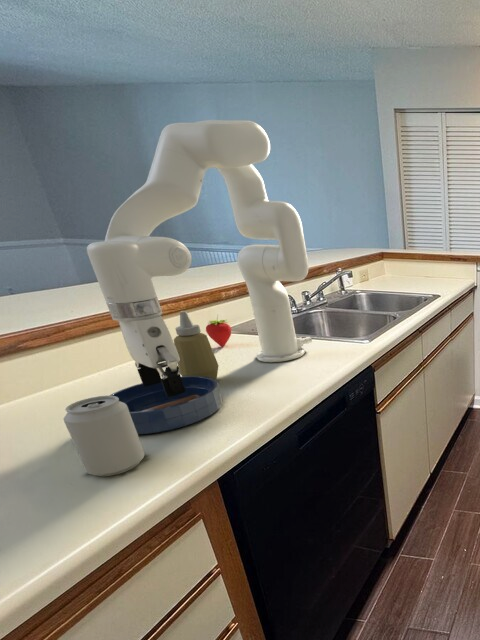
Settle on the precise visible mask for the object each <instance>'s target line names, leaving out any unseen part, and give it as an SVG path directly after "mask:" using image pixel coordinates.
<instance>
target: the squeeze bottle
mask: <svg viewBox="0 0 480 640" xmlns="http://www.w3.org/2000/svg"><path fill="white" fill-rule="evenodd" d="M174 329H175V332H176V335H177V336H175V337H174V338H173V342H174V345H175V347H176V350H177V352H178V355H179V358H180V361H179V362H178V363H177V366H178V367H179V372H180V376H181V377H182V376H202V377H209V378H212V379H214V380H215V381H216V382H217V380H218V374H219V373H218V372H219V366H220V365H219V363H218V360H217V358H216V355H215V352H214V351H213V348H212V346H211V343H210V341H209V338H208V334H205V333H203V332H202V330H201V328H200V325H199V324H194V323H193V321H192V319H191V317H190V316H189V314H188V312H187V311H186V310H181V311H179V326H176V327H175V328H174Z"/></svg>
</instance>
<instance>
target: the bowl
mask: <svg viewBox="0 0 480 640" xmlns="http://www.w3.org/2000/svg"><path fill="white" fill-rule="evenodd" d="M181 379H182V382H183V385H184V388H185V392H184V393H181V394H178V395H175V396H172V397H167V396H166V393H165V391H164V388H163V385H162V382H161V383H157V384H154V385H151V386H147V387H146V386H144V385H143V383H142V382H141V383H137V384H134V385H131V386H128V387H125V388H122V389H119V390H117V391H115V392H113V393H111V394H108V396H116V397H118V398H119V401H120V402H123V403H125V404H126V405H127V407H128V410H129V412H130V415H131V418H132V421H133V423H134V426H135V429H136V431H137V434H138V435H149V434H157V433H162V432H163V433H164V432H168V431H172V430H176V429H180V428H184V427H186V426H187V427H188V426H189V425H192V424H194V423H197V422H199V421H202V420H203V419H206V418H208V417H210V416H211V415H213V414H215V413H216V412H217V411H219V409H220V408H222V406H223V397H222V394H221V390H220V386H219V383H218V381H217V380H216V381H215V380H214V379H212V378H209V377H202V376H182V375H181ZM191 395H198V396H200V397H198V398H195V399H193V400H191V401H187V402H184V403H181V404H178V405H174V406H170V407H166V408H161V409H155V410H149V411H143V410H146V409H149V408H152V407H156V406H159V405H162V404H165V403H168V402H172V401H175V400H178V399H181V398H185V397H188V396H191Z"/></svg>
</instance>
